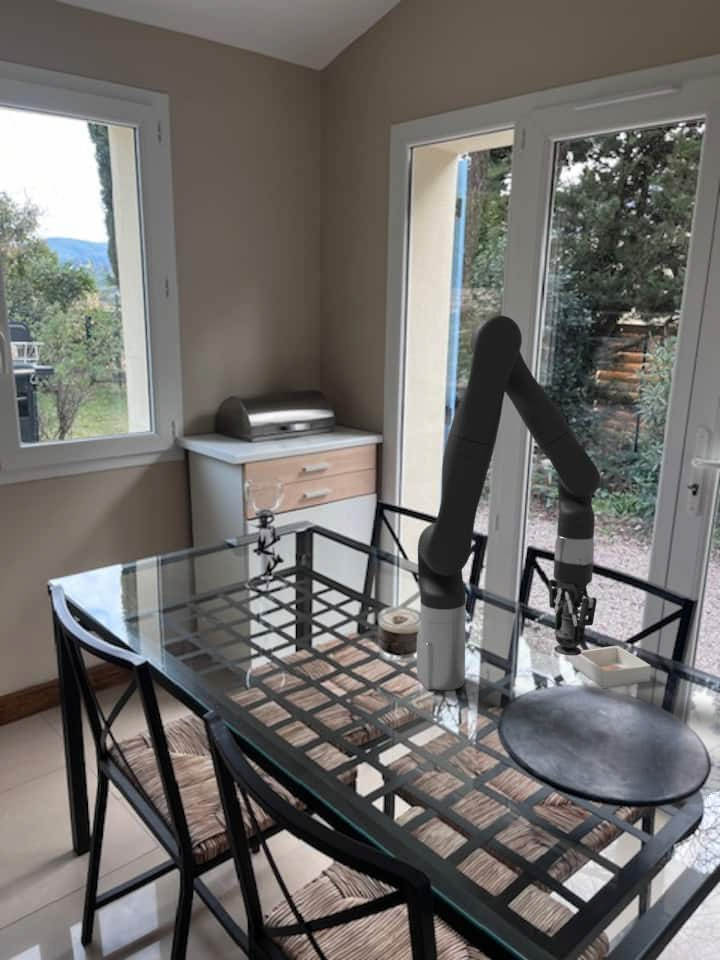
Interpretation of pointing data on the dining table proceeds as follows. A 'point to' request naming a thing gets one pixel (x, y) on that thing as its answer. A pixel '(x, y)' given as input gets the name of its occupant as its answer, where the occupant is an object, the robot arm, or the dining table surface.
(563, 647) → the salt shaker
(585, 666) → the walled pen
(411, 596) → the dining table surface
